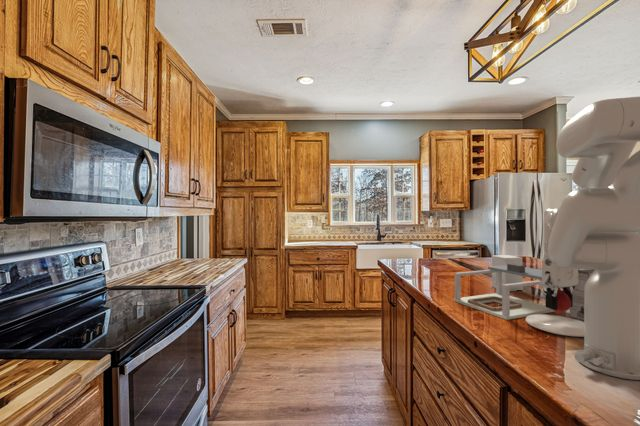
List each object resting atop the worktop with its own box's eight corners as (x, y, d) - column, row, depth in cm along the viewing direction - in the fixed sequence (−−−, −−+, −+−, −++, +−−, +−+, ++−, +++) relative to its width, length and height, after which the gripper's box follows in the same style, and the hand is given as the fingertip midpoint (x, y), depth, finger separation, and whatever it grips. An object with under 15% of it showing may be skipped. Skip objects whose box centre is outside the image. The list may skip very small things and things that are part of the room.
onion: (575, 317, 91) (575, 290, 91) (553, 316, 92) (553, 289, 92) (564, 311, 97) (564, 285, 97) (543, 310, 98) (543, 284, 98)
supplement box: (523, 290, 138) (523, 257, 138) (505, 291, 137) (505, 257, 137) (508, 286, 147) (508, 254, 147) (491, 286, 146) (491, 255, 146)
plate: (571, 342, 84) (571, 338, 84) (513, 321, 100) (513, 318, 100) (610, 333, 90) (610, 329, 90) (549, 315, 106) (549, 311, 106)
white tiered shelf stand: (506, 319, 101) (506, 285, 101) (453, 301, 123) (453, 272, 123) (556, 311, 110) (555, 279, 110) (498, 295, 131) (498, 268, 131)
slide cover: (543, 280, 108) (543, 270, 108) (488, 269, 129) (487, 260, 129) (568, 277, 112) (567, 267, 112) (510, 267, 133) (510, 258, 133)
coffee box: (588, 313, 107) (588, 267, 107) (610, 320, 101) (610, 270, 101) (568, 316, 105) (568, 268, 104) (589, 322, 98) (589, 272, 98)
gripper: (552, 251, 88) (552, 314, 88) (591, 248, 94) (591, 307, 94) (527, 248, 95) (527, 307, 95) (564, 245, 101) (564, 300, 101)
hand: (558, 306), depth 95 cm, fingers closed on onion, 5 cm apart
